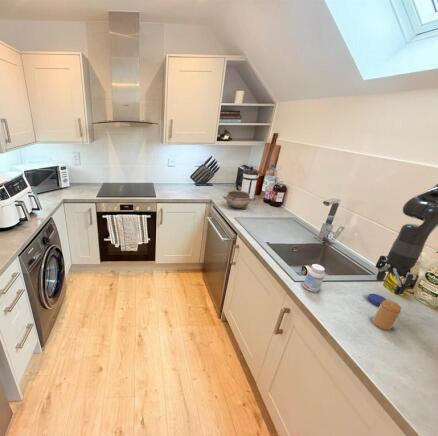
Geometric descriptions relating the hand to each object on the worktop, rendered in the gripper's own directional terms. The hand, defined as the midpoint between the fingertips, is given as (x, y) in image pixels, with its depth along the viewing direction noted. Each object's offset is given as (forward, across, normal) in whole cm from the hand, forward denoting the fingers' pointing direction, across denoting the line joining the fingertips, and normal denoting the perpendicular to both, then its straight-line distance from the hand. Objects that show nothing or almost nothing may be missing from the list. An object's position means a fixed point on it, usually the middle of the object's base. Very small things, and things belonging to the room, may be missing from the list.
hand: (388, 286), depth 94 cm
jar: (+8, +12, -8) cm, 16 cm away
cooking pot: (+7, -108, -32) cm, 113 cm away
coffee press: (+7, -132, -19) cm, 134 cm away
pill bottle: (+8, -7, -23) cm, 26 cm away
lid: (+7, -1, -1) cm, 7 cm away
